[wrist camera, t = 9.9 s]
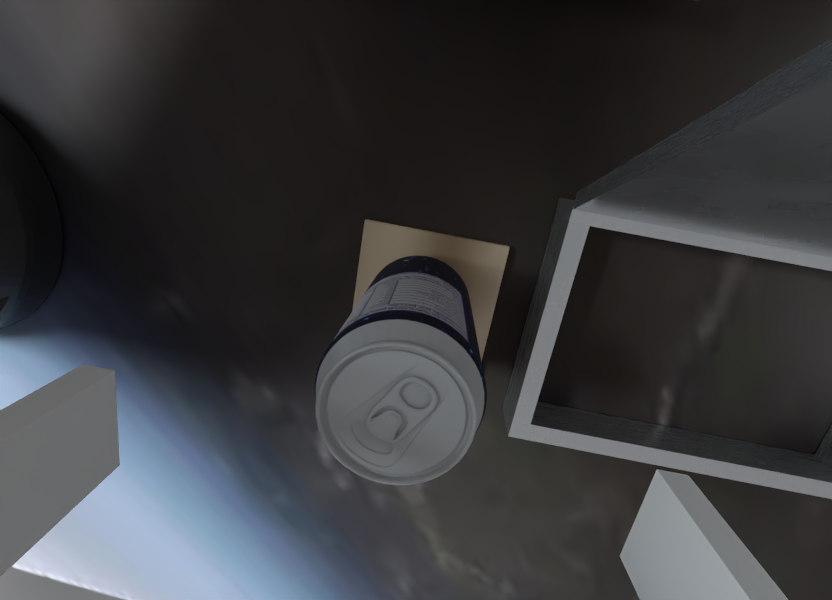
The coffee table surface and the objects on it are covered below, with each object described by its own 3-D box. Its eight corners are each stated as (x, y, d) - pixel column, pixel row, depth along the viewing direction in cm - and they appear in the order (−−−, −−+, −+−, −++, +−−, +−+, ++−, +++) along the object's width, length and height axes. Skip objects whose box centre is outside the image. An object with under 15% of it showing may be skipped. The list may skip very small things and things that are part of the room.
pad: (347, 349, 26) (346, 352, 25) (366, 219, 23) (364, 219, 23) (477, 374, 26) (477, 377, 25) (508, 245, 23) (509, 246, 23)
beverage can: (350, 304, 24) (265, 421, 13) (414, 230, 23) (383, 289, 12) (423, 365, 25) (404, 526, 14) (490, 298, 24) (531, 415, 12)
